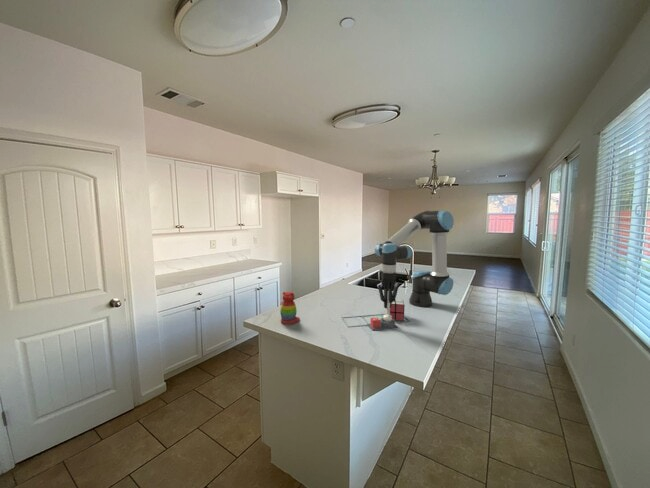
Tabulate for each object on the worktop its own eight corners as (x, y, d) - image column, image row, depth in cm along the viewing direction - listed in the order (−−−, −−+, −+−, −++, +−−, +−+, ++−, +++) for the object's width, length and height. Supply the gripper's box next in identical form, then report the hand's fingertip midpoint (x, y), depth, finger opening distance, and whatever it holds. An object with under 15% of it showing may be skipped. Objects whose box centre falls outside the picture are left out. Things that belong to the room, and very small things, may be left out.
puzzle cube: (404, 321, 155) (404, 304, 154) (386, 320, 157) (386, 303, 156) (402, 315, 165) (403, 299, 163) (386, 313, 167) (386, 298, 165)
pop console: (391, 322, 154) (391, 314, 153) (398, 328, 146) (398, 319, 145) (367, 325, 151) (367, 316, 150) (372, 330, 143) (372, 321, 142)
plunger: (389, 318, 151) (389, 314, 151) (393, 322, 147) (393, 317, 146) (382, 319, 150) (382, 314, 150) (385, 322, 146) (385, 317, 145)
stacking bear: (300, 319, 159) (300, 290, 157) (293, 326, 149) (293, 295, 147) (284, 317, 162) (284, 288, 160) (276, 323, 153) (275, 293, 151)
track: (399, 313, 169) (399, 312, 169) (410, 321, 155) (410, 321, 155) (341, 317, 161) (341, 317, 161) (348, 327, 147) (348, 326, 147)
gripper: (396, 270, 150) (395, 310, 153) (374, 270, 148) (373, 311, 150) (403, 272, 143) (401, 315, 146) (380, 273, 140) (379, 316, 143)
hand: (387, 313), depth 148 cm, fingers closed
